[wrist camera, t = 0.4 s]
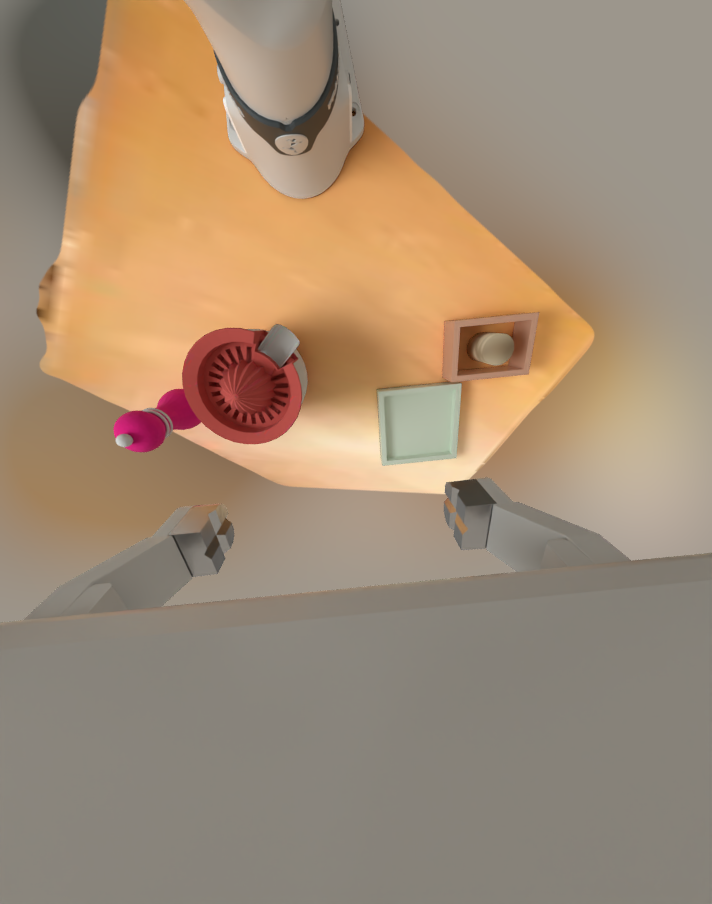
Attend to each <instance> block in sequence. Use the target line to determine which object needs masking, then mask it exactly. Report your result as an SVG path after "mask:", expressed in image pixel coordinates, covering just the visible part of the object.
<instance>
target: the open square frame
mask: <svg viewBox="0 0 712 904" xmlns="http://www.w3.org/2000/svg"><path fill="white" fill-rule="evenodd" d="M538 316H539V312H537V313H520V314H511V315H501V316H491V317H481V318H472V319H462V320H452V321H444V345H443V369H442V378H444V379H446V380H448V381H450V382H459V381H469V380H478V379H488V378H498V377H508V376H517V375H527V374H529V369H530V363H531V357H532V351H533V345H534V340H535V334H536V328H537V322H538ZM505 322H515V323H514V330H513V337H512V339H513V341H514V351H513V354H512V356H511V357H510V359H509V365H507V366H497V367H488V368H478V369H468V370H458V355H459V339H460V327H466V326H476V325H486V324H495V323H505Z"/></svg>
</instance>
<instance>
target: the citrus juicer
mask: <svg viewBox="0 0 712 904" xmlns="http://www.w3.org/2000/svg"><path fill="white" fill-rule="evenodd" d="M299 344H300V342H299V340H298V338H297V337H296V336H295V335H294V334H293V333H292V332H291V331H290V330H289V329H287V328H286V327H284V326H282V325H279V324H276V325H274V326H273V327H272V329H271V330H270V331H265V330H260V329H242V328H224V329H219V330H215V331H213V332H210V333H208V334H206V335H204V336H203V337H202V338H200V339H199V340H198V341H197V342H196V343H195V344H194V345H193V347H192V348H191V349H190V351H189V352H188V355H187V357H186V359H185V362H184V366H183V372H182V380H183V388H184V392H185V396H186V399H187V401H188V403H189V405H190V407H191V409H192V410H193V412H194V413H195V415H196V416H197V418H198V419H199V420H200V421H201V422H202V423H203V424H204V425H205V426H206V427H207V428H209V429H210V430H211V431H213V432H214V433H215V434H217V435H219V436H221V437H223V438H225V439H228V440H230V441H233V442H237V443H243V444H260V443H266V442H269V441H272V440H274V439H277V438H278V437H280V436H281V435H283V434H284V433H285V432H286V431H287V430H288V429H289V428H290V427H291V426H292V425H293V423H294V422H295V420H296V419H297V417H298V414H299V411H300V408H301V404H302V402H303V400H304V397H305V394H306V391H307V384H308V379H307V371H306V367H305V364H304V362H303V359H302V357H301V355H300V354H299V352H298V351H297V350H296V348H297V347H298V346H299Z"/></svg>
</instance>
